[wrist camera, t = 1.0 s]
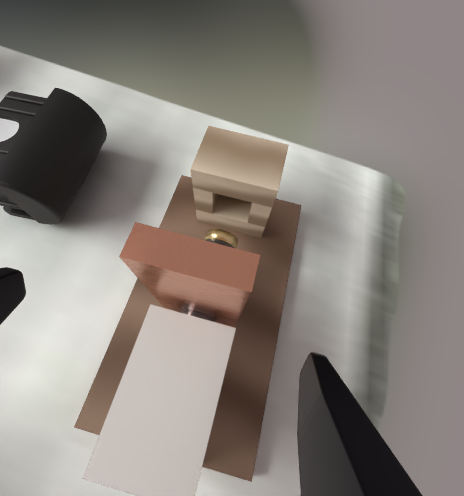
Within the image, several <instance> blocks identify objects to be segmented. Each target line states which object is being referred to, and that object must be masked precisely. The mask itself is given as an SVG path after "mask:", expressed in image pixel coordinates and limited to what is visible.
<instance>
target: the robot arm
mask: <svg viewBox="0 0 464 496" xmlns="http://www.w3.org/2000/svg"><path fill="white" fill-rule="evenodd" d="M25 295H26V289H25V284H24V279H23V274H22V273H21V271H19V270H16V269H12V268H7V267H5V268H0V325H1V323H2V322H3V321H4V320H5V319H6V318H7V317H8V316H9V315H10V314H11V312H12V311H13V310H14V309H15V308H16V307H17V306H18V305H19V304H20V303H21V301H22V300H23V299H24V297H25ZM297 436H298V455H299V471H300V487H301V496H422V495H421V493H420V492H419V490H418V489H417V487H416V486H415V484H414V483H413V482H412V480H411V479H410V477H409V476H408V474H407V473H406V471H405V470H404V468H403V467H402V466H401V464H400V463H399V461H398V460H397V458H396V457H395V455H394V454H393V453H392V451H391V450H390V448H389V447H388V445H387V444H386V442H385V441H384V440H383V439H382V437H381V435H380V434H379V432H378V431H377V430H376V428H375V427H374V425H373V424H372V422H371V421H370V419H369V418H368V417H367V415H366V414H365V412H364V411H363V409H362V408H361V406H360V405H359V404H358V402H357V401H356V399H355V398H354V396H353V395H352V393H351V392H350V391H349V389H348V388H347V386H346V385H345V383H344V382H343V380H342V379H341V378H340V376H339V375H338V373H337V372H336V370H335V369H334V367H333V366H332V365H331V363H330V362H329V360H328V359H327V358H326V357H325V356H324V355H321V354H318V353H314V352H311V353H310V354H309V355H308V357H307V359H306V361H305V364H304V366H303V368H302V370H301V373H300V379H299V403H298V429H297Z"/></svg>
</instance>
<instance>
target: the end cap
mask: <svg viewBox="0 0 464 496" xmlns="http://www.w3.org/2000/svg"><path fill="white" fill-rule="evenodd" d="M0 118H3V119H7V120H12V121H16V122H18V123H19V129H18V131H17V133H16V134H15V135H14V136H12V137H11V138H9V139H8V140H5V141H2V142H0V205H1V206H4V207H3V209H4V211H6V212H7V213H8V214H10V215H14V216H19V217H23V218H28V219H32V220H36V221H37V222H39V223H43V224H57V223H59V222H60V221H61V220H62V218H63V216H64V215H65V213H66V211H67V209H68V207H69V206H70V204H71V202H72V200H73V198H74V196H75V195H76V193H77V191H78V189H79V187H80V185H81V184H82V182H83V180H84V178H85V176H86V174H87V173H88V171H89V169H90V167H91V165H92V164H93V162H94V160H95V158H96V156H97V154H98V153H99V151H100V149H101V147H102V145H103V143H104V142H105V140H106V136H107V132H106V128H105V125H104V123H103V121H102V119H101V118H100V117H99V115H98V114H97V113H96V112H95V111H94V110H93V109H92V107H90V106H89V105H88V104H87V103H86V102H84V101H83V100H82V99H80V98H79V97H77V96H75V95H74V94H72V93H70V92H67V91H65V90H62V89H59V88H55V89H54V90H53V91H52V93H51V94H50V95H49V97H48V98H43V97H38V96H33V95H28V94H23V93H18V92H13V91H11V92H9V93H8V94H7V95H6V96H5V97H4V99H3V100H2V101H1V102H0Z"/></svg>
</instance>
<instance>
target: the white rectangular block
mask: <svg viewBox="0 0 464 496" xmlns="http://www.w3.org/2000/svg"><path fill="white" fill-rule="evenodd" d="M235 330H236V328H234V327H230V326H227V325H223V324H220V323H216V322H212V321H209V320H205V319H202V318H198V317H194V316H191V315H187V314H184V313H180V312H176V311H173V310H169V309H166V308H162V307H158V306H155V305H151V304H150V307H149V309H148V312H147V314H146V317H145V319H144V322H143V325H142V327H141V330H140V332H139V335H138V337H137V340H136V343H135V345H134V348H133V350H132V353H131V355H130V358H129V361H128V363H127V366H126V368H125V371H124V373H123V376H122V379H121V381H120V384H119V386H118V389H117V391H116V394H115V396H114V399H113V402H112V404H111V407H110V409H109V412H108V414H107V417H106V420H105V422H104V425H103V427H102V430H101V432H100V435H99V438H98V440H97V443H96V445H95V448H94V450H93V453H92V456H91V458H90V461H89V463H88V466H87V468H86V471H85V473H84V476H83V479H85V480H89V481H92V482H95V483H98V484H101V485H104V486H108V487H111V488H114V489H117V490H120V491H123V492H126V493H130V494H133V495H136V496H195V493H196V489H197V485H198V481H199V477H200V473H201V469H202V465H203V461H204V457H205V452H206V448H207V444H208V440H209V436H210V432H211V428H212V424H213V420H214V416H215V412H216V408H217V404H218V399H219V395H220V391H221V387H222V383H223V379H224V375H225V371H226V367H227V363H228V359H229V355H230V351H231V346H232V342H233V338H234V334H235Z"/></svg>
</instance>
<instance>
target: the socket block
mask: <svg viewBox="0 0 464 496" xmlns="http://www.w3.org/2000/svg"><path fill="white" fill-rule="evenodd" d="M288 146H289V145H287V144H283V143H278V142H274V141H270V140H266V139H262V138H258V137H253V136H249V135H245V134H241V133H237V132H233V131H228V130H224V129H220V128H216V127H212V126H208V128H207V131H206V133H205V136H204V138H203V141H202V143H201V145H200V148H199V150H198V153H197V155H196V157H195V160H194V162H193V165H192V167H191V177H192V185H193V193H194V201H195V209H196V217H197V221H198V222H202V223H206V224H210V225H214V226H217V227H221V228H225V229H229V230H233V231H237V232H241V233H244V234H248V235H252V236H256V237H260V238H261V237H262V234H263V231H264V229H265V226H266V223H267V220H268V218H269V215H270V212H271V209H272V206H273V204H274V201H275V198H276V195H277V193H278V189H279V185H280V180H281V176H282V172H283V167H284V163H285V159H286V154H287V150H288Z"/></svg>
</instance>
